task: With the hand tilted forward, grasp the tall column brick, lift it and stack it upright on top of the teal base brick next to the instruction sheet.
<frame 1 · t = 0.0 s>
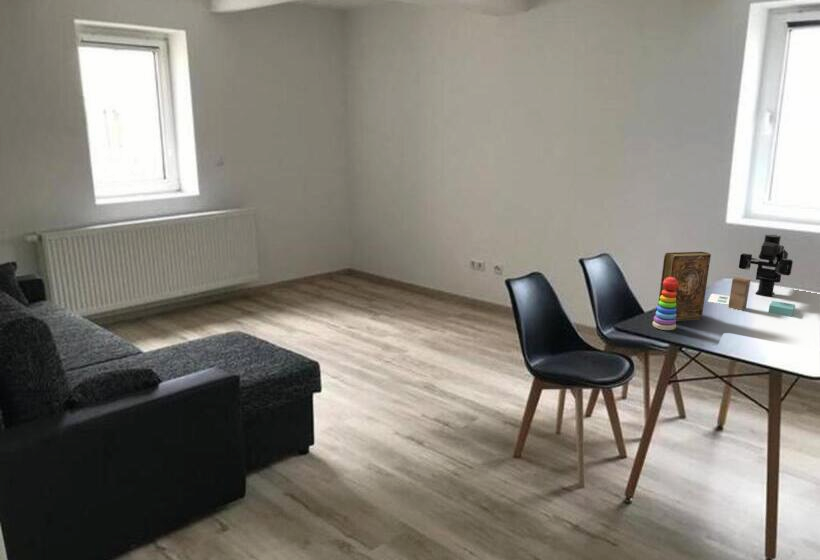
hand: (762, 268, 256), 17 cm above the table, tool horizontal, fingers open, 9 cm apart
instruction sheet: (722, 299, 271), on the table
stacking toy: (663, 327, 236), on the table
base brick: (781, 312, 256), on the table
book: (680, 318, 247), on the table
column brick: (737, 307, 260), on the table, touching instruction sheet
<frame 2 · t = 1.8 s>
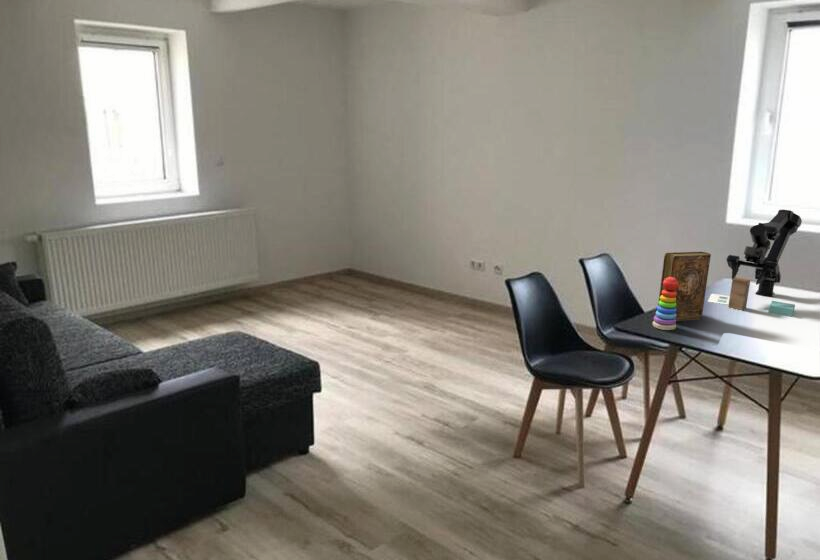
hand: (744, 281, 260), 10 cm above the table, tool tilted 45°, fingers open, 9 cm apart
nothing on the table moved.
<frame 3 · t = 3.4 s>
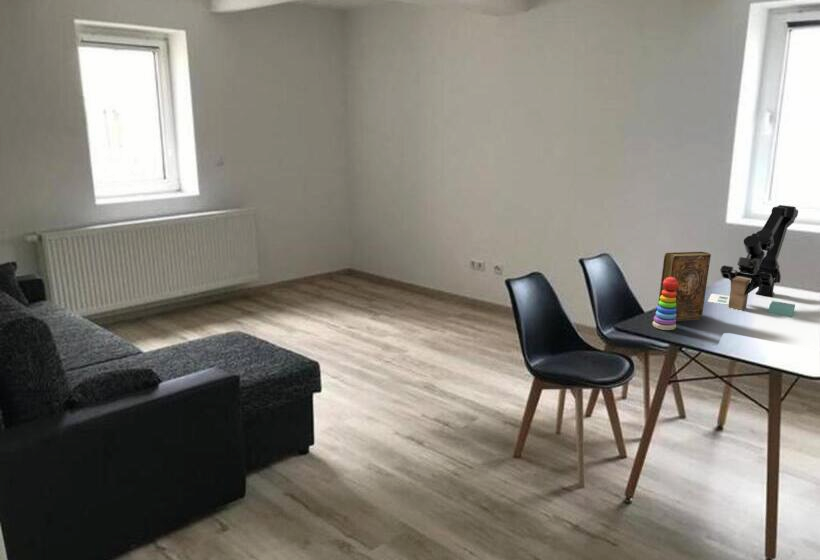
hand: (738, 292, 258), 7 cm above the table, tool tilted 45°, fingers closed on column brick, 5 cm apart
column brick: (737, 307, 260), on the table, touching gripper, instruction sheet
everything else where it was.
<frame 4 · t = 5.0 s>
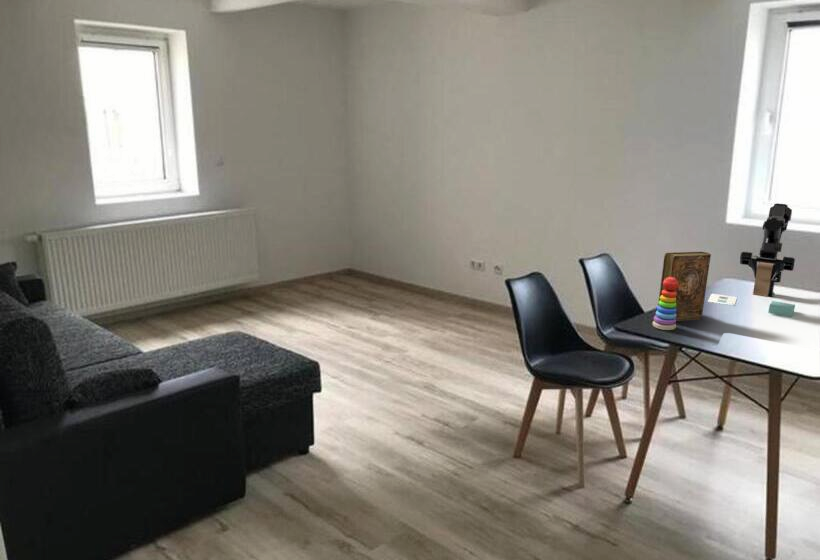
hand: (763, 278, 253), 13 cm above the table, tool tilted 45°, fingers closed on column brick, 5 cm apart
column brick: (760, 294, 256), point 7 cm above the table, touching gripper
everything else where it was.
when the fingers open (10 cm above the table, at t = 6.6 s): column brick stays where it is, resting on base brick.
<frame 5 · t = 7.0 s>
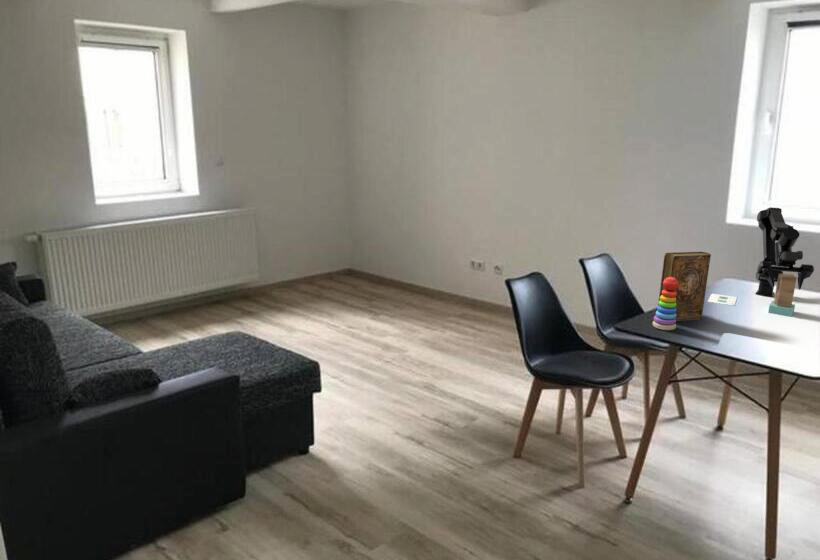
hand: (786, 287, 252), 10 cm above the table, tool tilted 45°, fingers open, 9 cm apart
column brick: (782, 305, 255), point 3 cm above the table, touching base brick
everything else where it was.
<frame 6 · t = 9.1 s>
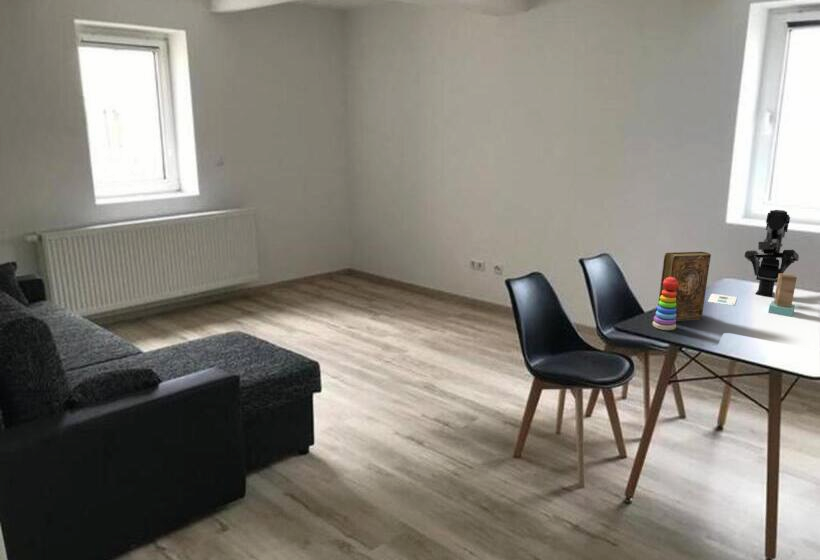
hand: (767, 275, 263), 12 cm above the table, tool tilted 30°, fingers open, 9 cm apart
nothing on the table moved.
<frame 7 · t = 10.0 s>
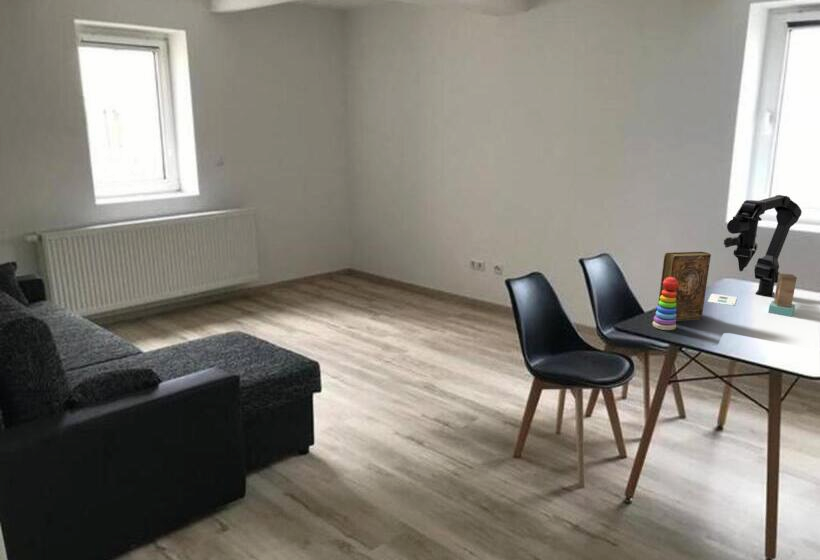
hand: (742, 269, 269), 13 cm above the table, tool pointing down, fingers open, 9 cm apart
nothing on the table moved.
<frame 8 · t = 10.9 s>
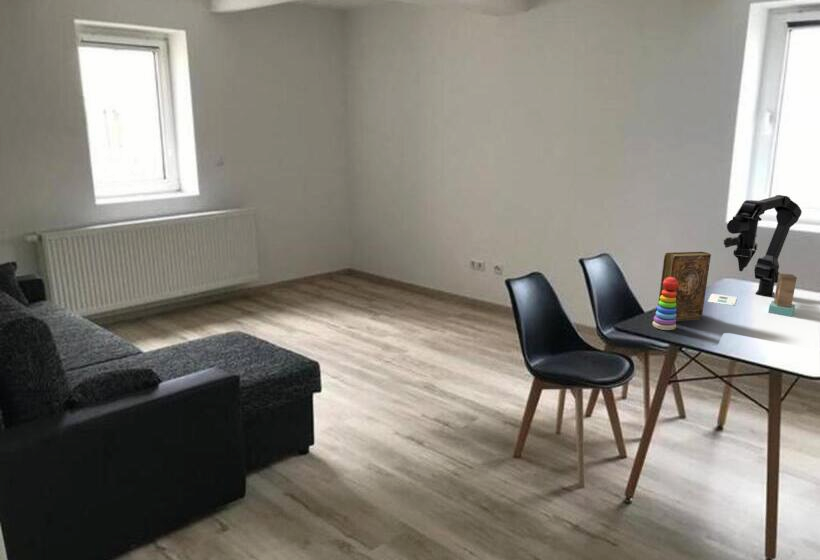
hand: (742, 269, 269), 13 cm above the table, tool pointing down, fingers open, 9 cm apart
nothing on the table moved.
at the end: column brick inside the target area on the base brick (0.0 cm from its centre), point 3.0 cm above the base brick's base; column brick tilted 0°; the gripper is holding nothing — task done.
